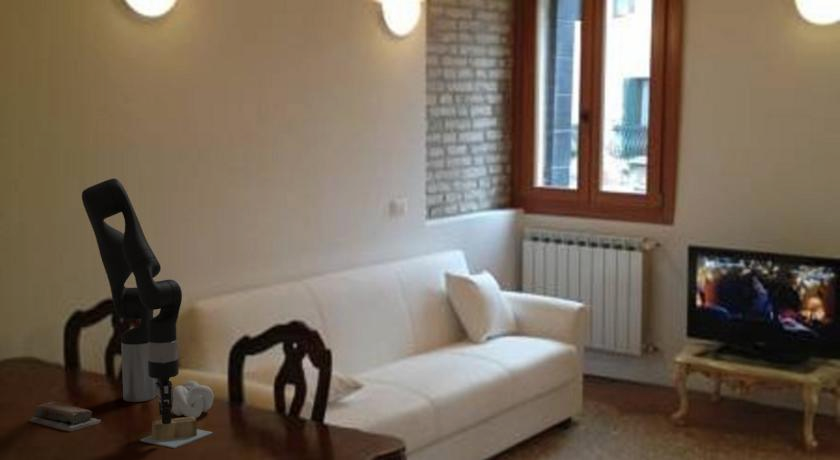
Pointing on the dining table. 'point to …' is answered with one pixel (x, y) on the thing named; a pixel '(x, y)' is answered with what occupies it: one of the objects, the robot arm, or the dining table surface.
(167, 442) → the felt mat
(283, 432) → the dining table surface
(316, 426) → the dining table surface
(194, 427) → the oak block
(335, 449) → the dining table surface
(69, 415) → the packaged product
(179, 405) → the white decorative knot
